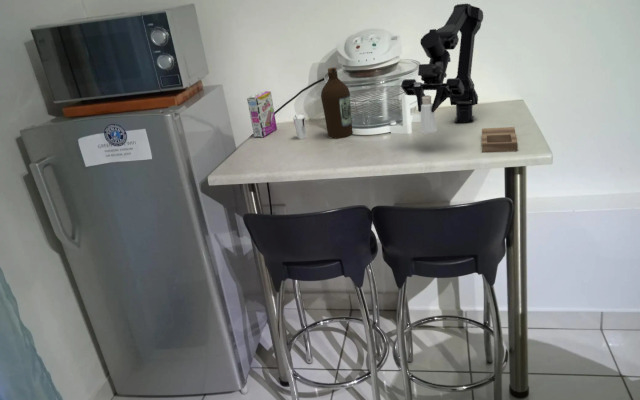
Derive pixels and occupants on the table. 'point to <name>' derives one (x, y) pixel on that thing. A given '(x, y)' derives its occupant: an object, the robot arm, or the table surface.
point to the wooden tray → (499, 139)
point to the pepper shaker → (427, 116)
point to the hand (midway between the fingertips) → (425, 111)
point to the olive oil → (336, 106)
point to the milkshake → (300, 126)
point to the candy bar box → (262, 114)
